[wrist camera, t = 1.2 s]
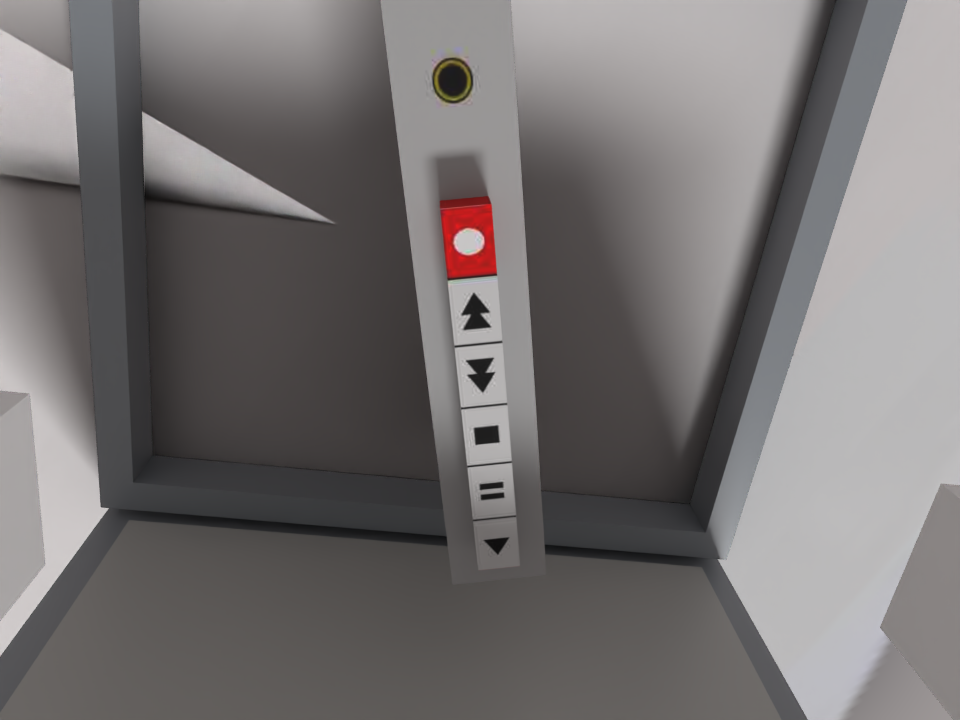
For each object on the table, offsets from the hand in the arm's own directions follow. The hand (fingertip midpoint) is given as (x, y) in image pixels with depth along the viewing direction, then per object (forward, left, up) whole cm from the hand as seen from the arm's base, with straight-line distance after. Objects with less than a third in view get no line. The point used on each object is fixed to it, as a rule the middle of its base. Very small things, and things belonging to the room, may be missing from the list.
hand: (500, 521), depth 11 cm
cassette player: (0, 0, -17) cm, 17 cm away
